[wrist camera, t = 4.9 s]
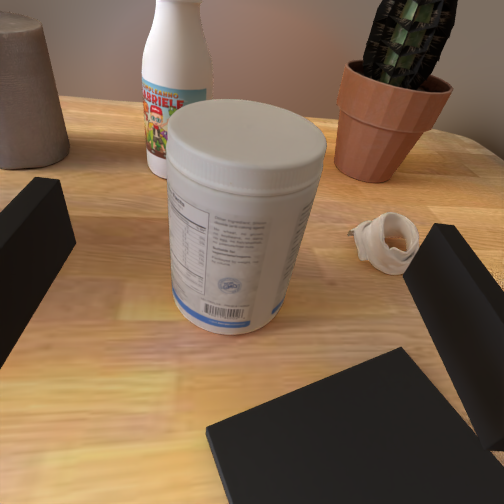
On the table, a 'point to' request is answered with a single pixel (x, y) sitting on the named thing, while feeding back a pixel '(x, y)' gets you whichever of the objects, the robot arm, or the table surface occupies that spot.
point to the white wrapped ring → (375, 248)
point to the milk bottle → (173, 72)
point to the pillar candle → (28, 97)
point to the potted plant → (393, 88)
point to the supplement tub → (237, 208)
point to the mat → (356, 444)
